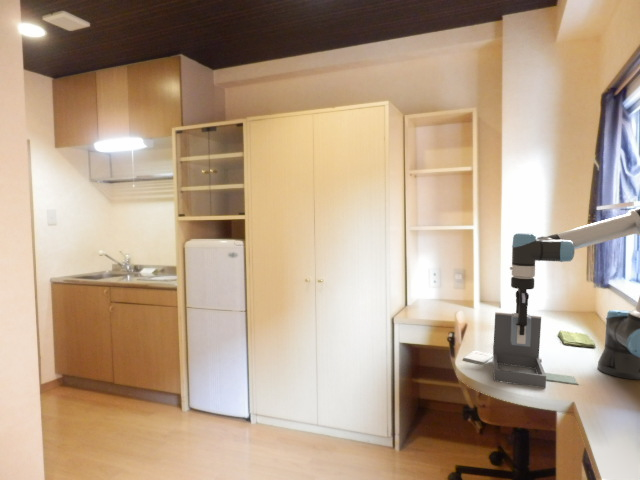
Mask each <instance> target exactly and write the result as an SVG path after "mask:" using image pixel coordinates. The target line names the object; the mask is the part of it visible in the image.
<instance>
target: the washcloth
mask: <svg viewBox="0 0 640 480" xmlns="http://www.w3.org/2000/svg"><path fill="white" fill-rule="evenodd" d="M557 337H559V339H560V340H561V341H562V343H563V344H564V346H572V347H573V346H574V347H584V348H593V349H596V346H597V345H596V344H595V341H594V340H593V339H592V338H591V337H590V336H589V335H588V333H581V332H573V331H568V330H567V331H566V330H559V331H558V333H557Z"/></svg>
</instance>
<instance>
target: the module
mask: <svg viewBox="0 0 640 480" xmlns="http://www.w3.org/2000/svg"><path fill="white" fill-rule="evenodd" d="M530 315H531V314H529V313H527V326H526V342H525V344H519V343H517V326H518V325H516V323H517V324H518V313H516V312H514V313H513V312H512V315H511V344H512V345H518V346H528V347H530V339H531V317H530ZM521 322H522V321H521Z"/></svg>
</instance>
